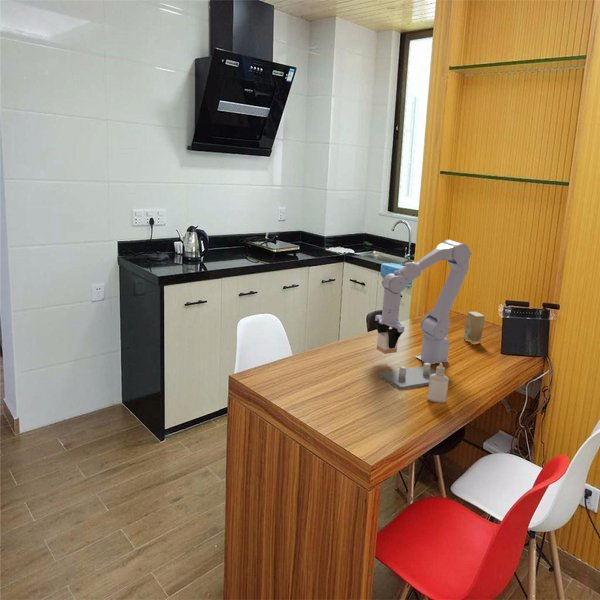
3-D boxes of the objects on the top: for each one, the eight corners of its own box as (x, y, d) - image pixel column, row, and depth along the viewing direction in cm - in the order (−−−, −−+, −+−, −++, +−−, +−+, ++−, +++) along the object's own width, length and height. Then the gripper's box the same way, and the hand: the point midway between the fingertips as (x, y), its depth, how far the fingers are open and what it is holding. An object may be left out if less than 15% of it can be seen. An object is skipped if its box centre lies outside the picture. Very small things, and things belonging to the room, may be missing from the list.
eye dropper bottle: (440, 405, 161) (445, 367, 158) (424, 398, 165) (429, 362, 162) (448, 401, 164) (453, 364, 161) (432, 395, 168) (436, 359, 165)
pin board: (425, 368, 189) (427, 356, 188) (449, 381, 179) (450, 368, 178) (378, 375, 181) (380, 363, 179) (400, 389, 170) (402, 376, 169)
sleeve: (388, 347, 194) (389, 331, 193) (396, 352, 190) (398, 336, 189) (376, 349, 192) (378, 333, 191) (384, 353, 188) (386, 337, 186)
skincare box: (462, 339, 223) (466, 311, 220) (471, 339, 225) (476, 311, 222) (472, 345, 217) (476, 316, 214) (481, 344, 219) (485, 315, 216)
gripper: (369, 303, 192) (366, 340, 195) (393, 315, 179) (390, 353, 183) (385, 302, 195) (382, 338, 198) (410, 313, 182) (406, 351, 186)
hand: (387, 345), depth 191 cm, fingers closed on sleeve, 5 cm apart
